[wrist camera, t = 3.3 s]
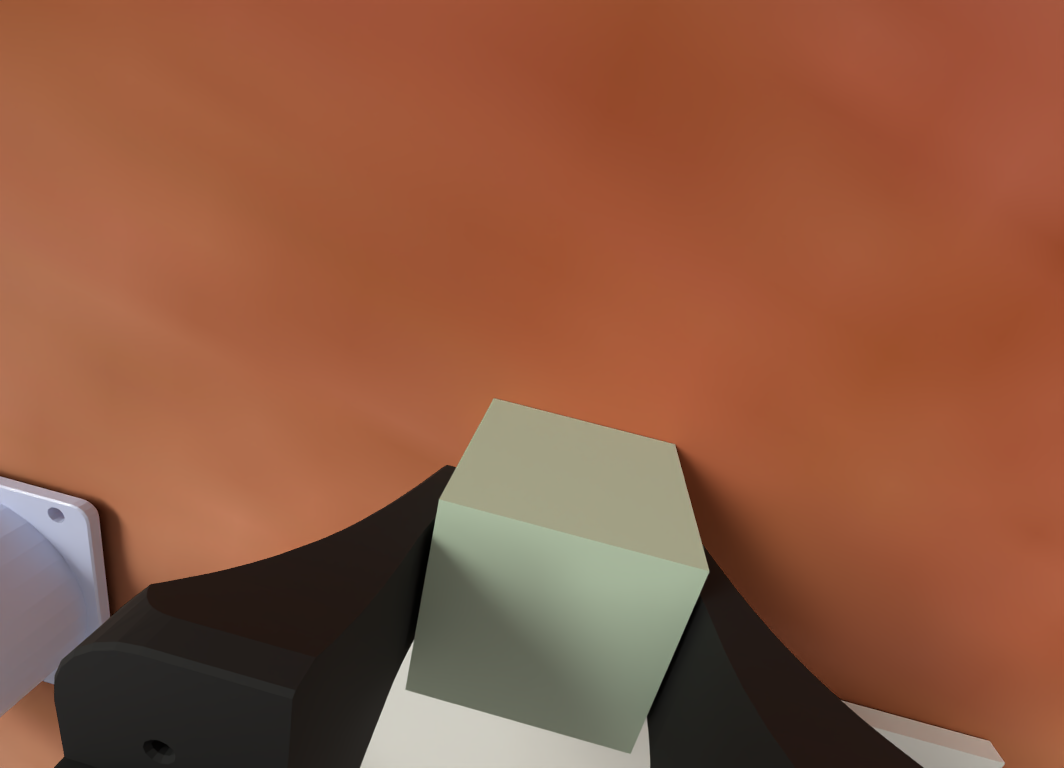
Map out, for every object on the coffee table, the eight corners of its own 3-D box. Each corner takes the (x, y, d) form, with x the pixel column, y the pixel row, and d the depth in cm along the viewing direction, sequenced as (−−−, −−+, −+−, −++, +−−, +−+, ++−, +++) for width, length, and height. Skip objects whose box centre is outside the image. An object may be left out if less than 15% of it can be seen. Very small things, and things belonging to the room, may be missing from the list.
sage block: (463, 544, 14) (405, 689, 10) (493, 397, 13) (439, 499, 9) (623, 587, 14) (630, 753, 10) (675, 444, 13) (708, 570, 8)
